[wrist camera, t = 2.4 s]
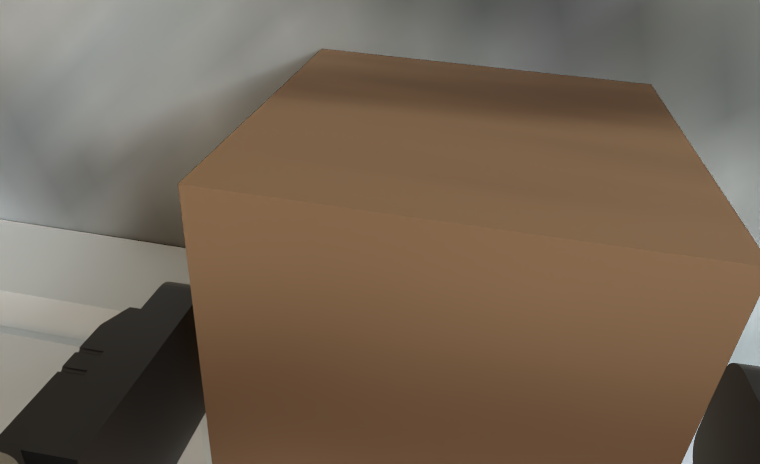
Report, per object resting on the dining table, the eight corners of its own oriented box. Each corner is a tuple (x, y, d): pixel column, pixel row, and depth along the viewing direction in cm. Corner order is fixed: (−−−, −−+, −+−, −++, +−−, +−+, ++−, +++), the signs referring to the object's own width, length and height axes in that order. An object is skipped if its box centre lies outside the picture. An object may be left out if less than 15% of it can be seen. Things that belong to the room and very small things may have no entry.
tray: (-209, 186, 16) (-330, 240, 14) (235, 255, 14) (183, 328, 12) (-65, 487, 22) (-132, 558, 20) (257, 557, 21) (225, 643, 18)
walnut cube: (323, 47, 12) (177, 184, 7) (650, 83, 11) (772, 267, 6) (319, 300, 15) (220, 526, 10) (575, 341, 14) (612, 609, 9)
